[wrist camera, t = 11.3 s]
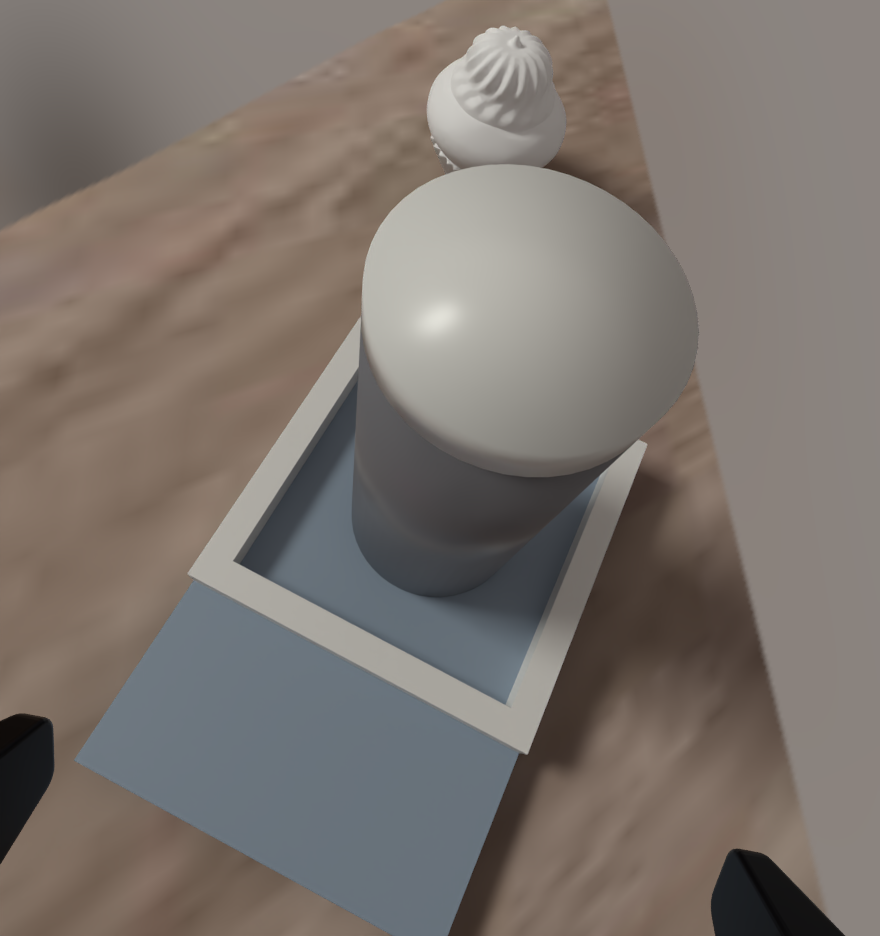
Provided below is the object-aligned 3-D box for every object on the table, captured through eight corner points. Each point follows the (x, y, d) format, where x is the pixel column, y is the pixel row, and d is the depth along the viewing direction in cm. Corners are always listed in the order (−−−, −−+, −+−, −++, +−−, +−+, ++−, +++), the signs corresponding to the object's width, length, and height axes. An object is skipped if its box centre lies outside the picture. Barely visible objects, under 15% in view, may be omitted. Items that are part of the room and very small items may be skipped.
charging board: (432, 949, 19) (443, 972, 17) (86, 758, 20) (60, 762, 18) (625, 463, 26) (647, 444, 24) (367, 332, 27) (369, 303, 25)
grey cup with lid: (433, 634, 22) (546, 531, 10) (316, 507, 23) (287, 271, 11) (548, 520, 24) (760, 318, 12) (437, 408, 25) (527, 118, 13)
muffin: (390, 171, 30) (404, 22, 24) (473, 112, 32) (506, -38, 26) (488, 251, 29) (530, 119, 23) (566, 185, 32) (625, 48, 25)
